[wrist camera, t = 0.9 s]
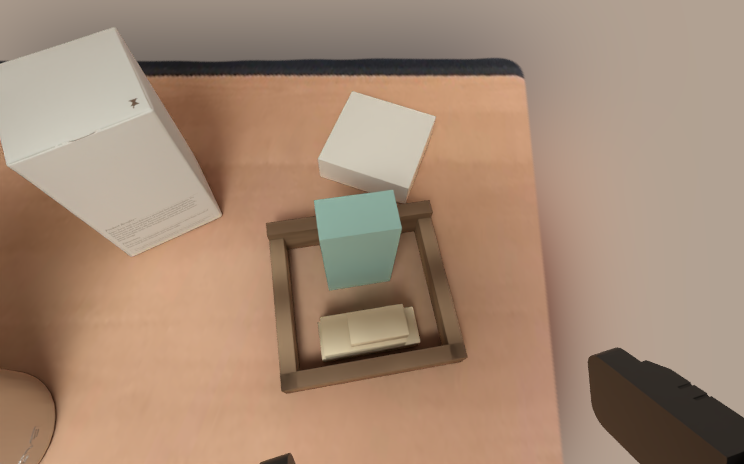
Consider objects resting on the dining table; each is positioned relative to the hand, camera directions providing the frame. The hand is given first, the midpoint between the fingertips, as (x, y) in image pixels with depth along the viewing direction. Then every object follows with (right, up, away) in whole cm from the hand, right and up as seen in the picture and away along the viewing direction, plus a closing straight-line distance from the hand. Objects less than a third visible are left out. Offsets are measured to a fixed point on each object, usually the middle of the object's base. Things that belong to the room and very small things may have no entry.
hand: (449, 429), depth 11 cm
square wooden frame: (-3, -1, +26) cm, 27 cm away
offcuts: (-2, -4, +25) cm, 25 cm away
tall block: (-3, +2, +27) cm, 28 cm away
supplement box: (-22, +8, +30) cm, 38 cm away
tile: (-1, +13, +33) cm, 35 cm away
